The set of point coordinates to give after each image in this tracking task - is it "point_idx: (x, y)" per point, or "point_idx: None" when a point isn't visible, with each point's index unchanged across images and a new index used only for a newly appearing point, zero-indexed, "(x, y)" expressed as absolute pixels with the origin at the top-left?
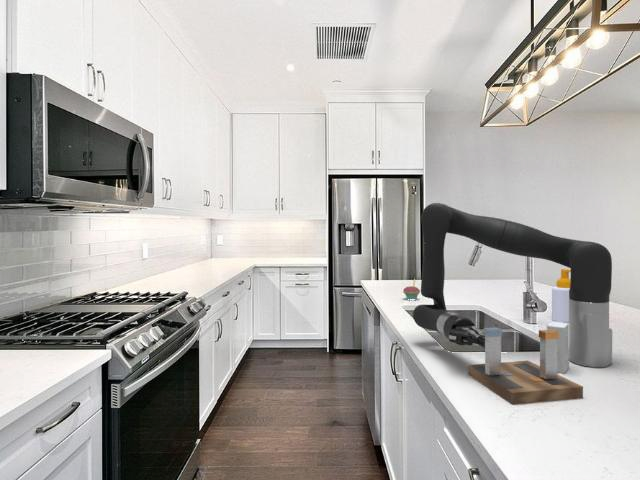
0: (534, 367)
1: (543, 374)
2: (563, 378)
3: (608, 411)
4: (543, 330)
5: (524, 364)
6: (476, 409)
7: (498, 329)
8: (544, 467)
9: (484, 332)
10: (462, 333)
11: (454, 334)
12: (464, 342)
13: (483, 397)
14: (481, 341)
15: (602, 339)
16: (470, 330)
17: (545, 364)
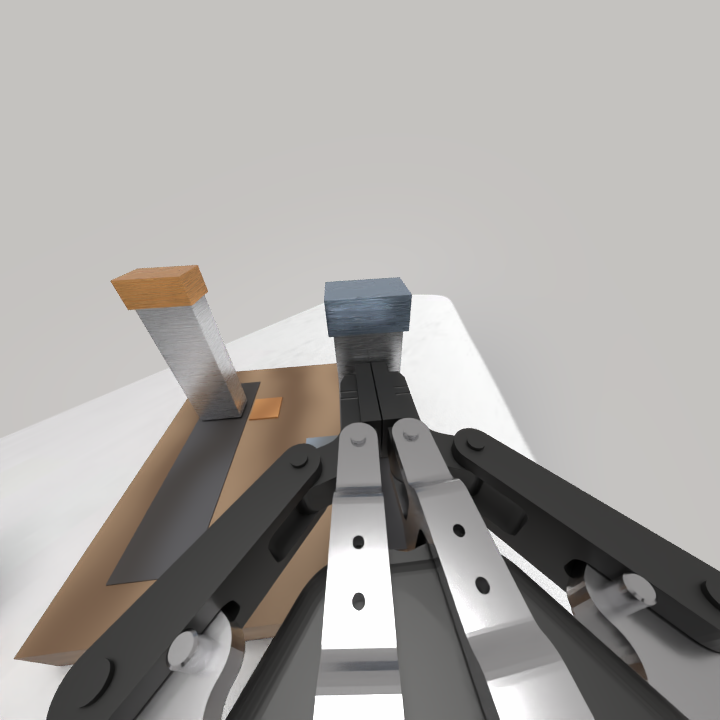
0: (149, 508)
1: (241, 397)
2: (185, 412)
3: (235, 357)
4: (164, 275)
5: (138, 560)
6: (454, 369)
7: (344, 282)
8: (412, 298)
9: (408, 314)
10: (545, 504)
11: (636, 534)
12: (500, 493)
13: (426, 407)
14: (407, 390)
15: None
16: (456, 537)
17: (233, 367)
